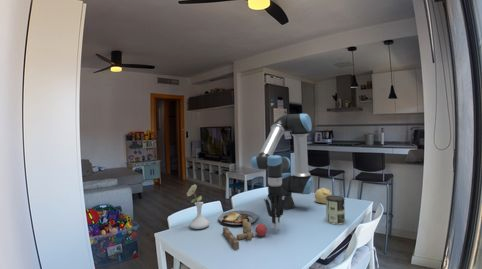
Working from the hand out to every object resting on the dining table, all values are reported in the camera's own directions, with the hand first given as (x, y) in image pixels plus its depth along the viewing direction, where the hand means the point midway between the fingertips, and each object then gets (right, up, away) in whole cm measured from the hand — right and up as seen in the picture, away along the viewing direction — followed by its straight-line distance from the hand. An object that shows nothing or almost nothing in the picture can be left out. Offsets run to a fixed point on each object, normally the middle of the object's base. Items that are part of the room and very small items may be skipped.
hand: (276, 228), depth 135 cm
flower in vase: (-43, -3, +10) cm, 44 cm away
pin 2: (-15, -2, -8) cm, 17 cm away
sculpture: (+42, 0, +51) cm, 66 cm away
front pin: (-13, -1, -5) cm, 13 cm away
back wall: (-24, -3, -9) cm, 26 cm away
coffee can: (+37, -1, +14) cm, 39 cm away
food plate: (-20, -3, +20) cm, 29 cm away
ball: (-8, +1, -4) cm, 9 cm away
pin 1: (-16, -2, -3) cm, 17 cm away
